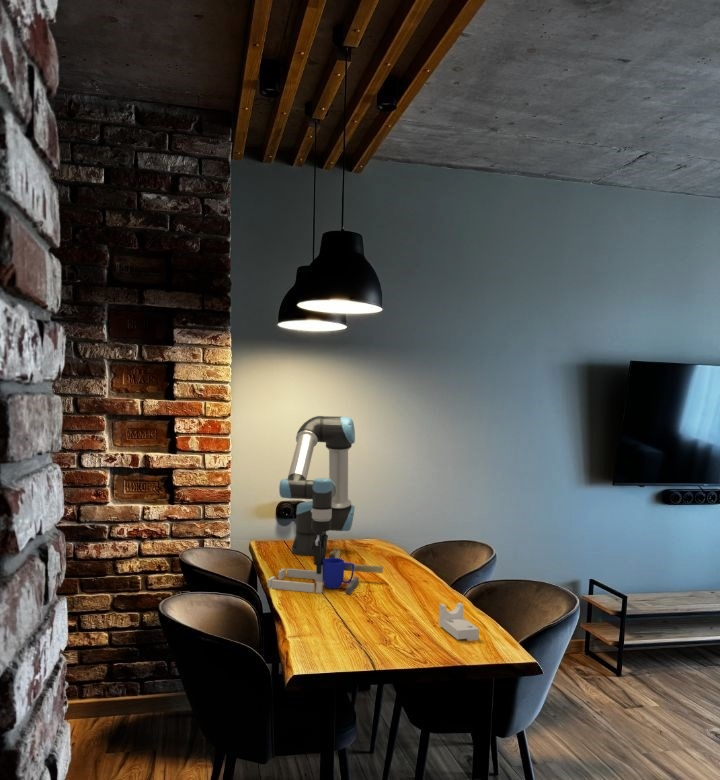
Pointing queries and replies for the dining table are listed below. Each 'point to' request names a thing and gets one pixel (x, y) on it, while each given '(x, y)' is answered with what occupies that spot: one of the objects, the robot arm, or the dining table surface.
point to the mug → (335, 572)
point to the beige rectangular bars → (295, 585)
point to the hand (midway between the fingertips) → (319, 581)
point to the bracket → (457, 623)
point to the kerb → (352, 585)
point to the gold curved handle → (360, 568)
